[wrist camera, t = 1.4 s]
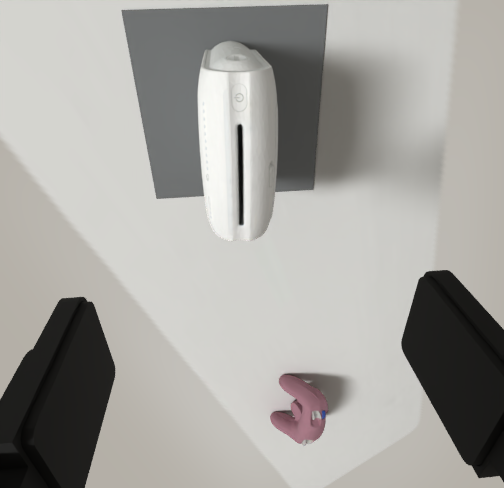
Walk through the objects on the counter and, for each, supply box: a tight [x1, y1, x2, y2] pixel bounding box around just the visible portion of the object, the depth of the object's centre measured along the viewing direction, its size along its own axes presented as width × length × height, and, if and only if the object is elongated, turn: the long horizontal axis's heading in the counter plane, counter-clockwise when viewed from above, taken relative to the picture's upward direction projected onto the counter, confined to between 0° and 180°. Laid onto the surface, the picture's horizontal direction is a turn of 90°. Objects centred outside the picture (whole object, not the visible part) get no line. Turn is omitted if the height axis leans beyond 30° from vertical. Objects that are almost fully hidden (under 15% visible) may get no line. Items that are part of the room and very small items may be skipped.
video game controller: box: [270, 375, 328, 446], centre depth 48 cm, size 10×5×7 cm, turn 174°
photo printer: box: [198, 41, 278, 241], centre depth 23 cm, size 10×4×12 cm, turn 0°
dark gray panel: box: [122, 4, 328, 199], centre depth 29 cm, size 14×14×1 cm
